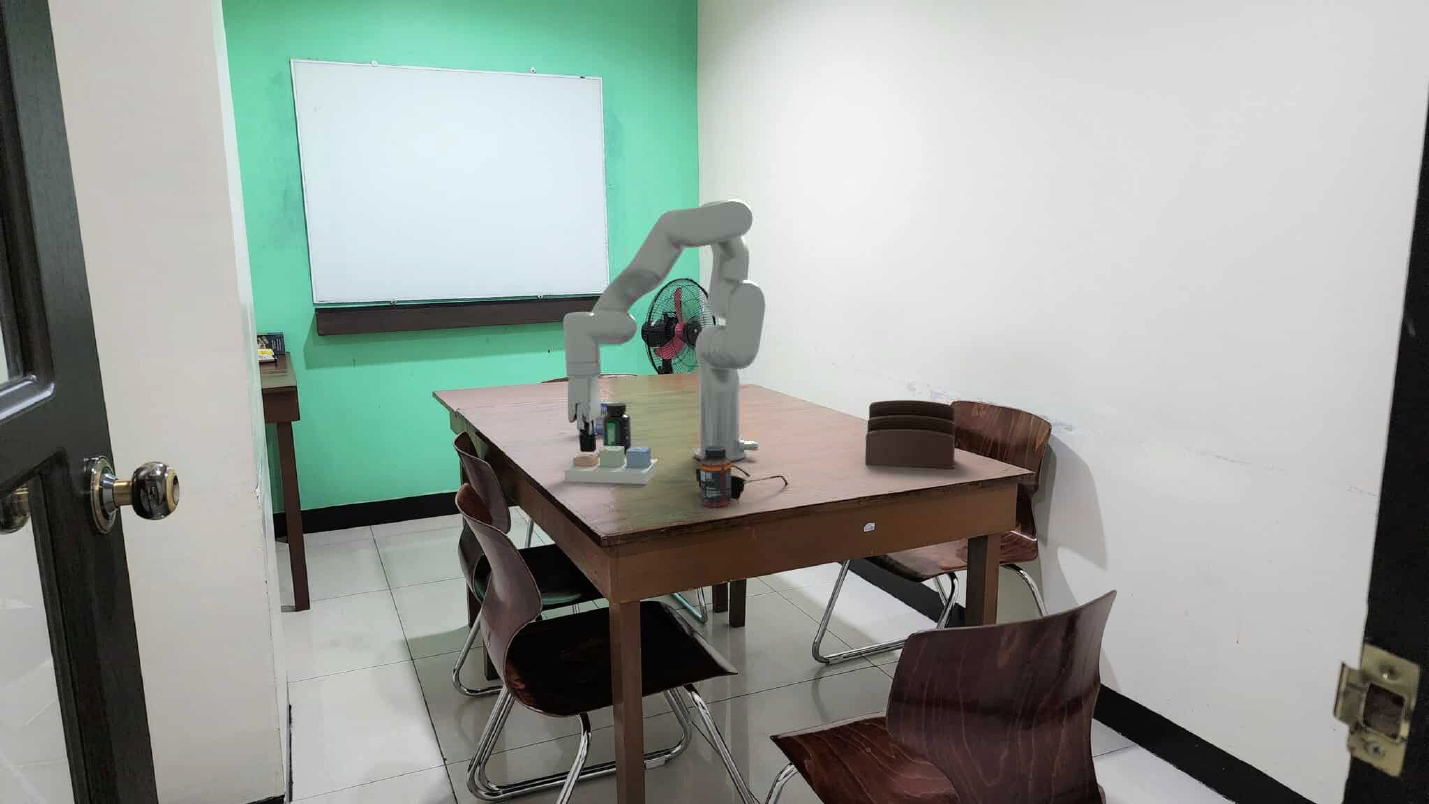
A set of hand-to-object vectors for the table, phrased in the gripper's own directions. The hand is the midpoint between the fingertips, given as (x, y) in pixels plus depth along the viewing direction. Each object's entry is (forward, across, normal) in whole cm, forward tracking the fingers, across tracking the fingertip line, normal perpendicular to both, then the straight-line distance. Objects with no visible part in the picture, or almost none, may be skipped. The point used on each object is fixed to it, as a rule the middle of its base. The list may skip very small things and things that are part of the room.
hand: (588, 450), depth 191 cm
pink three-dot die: (+5, 0, -1) cm, 5 cm away
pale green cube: (+3, 0, +5) cm, 6 cm away
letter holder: (+8, -20, +71) cm, 74 cm away
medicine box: (+6, -44, -9) cm, 46 cm away
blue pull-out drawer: (+3, 0, +11) cm, 12 cm away
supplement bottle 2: (+6, +20, +31) cm, 37 cm away
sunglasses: (+7, +6, +35) cm, 37 cm away
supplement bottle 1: (+6, -22, 0) cm, 23 cm away
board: (+6, 0, +5) cm, 8 cm away
